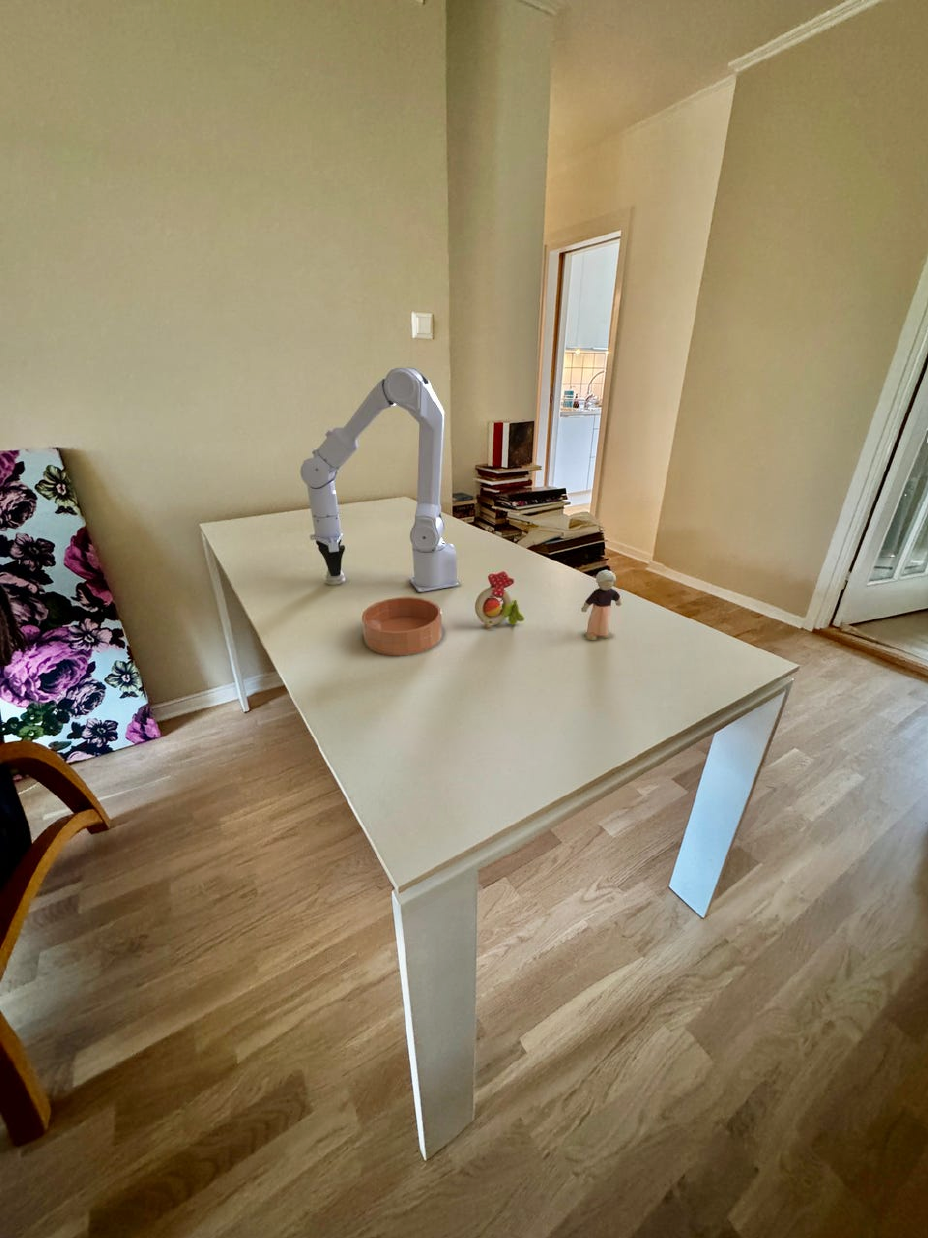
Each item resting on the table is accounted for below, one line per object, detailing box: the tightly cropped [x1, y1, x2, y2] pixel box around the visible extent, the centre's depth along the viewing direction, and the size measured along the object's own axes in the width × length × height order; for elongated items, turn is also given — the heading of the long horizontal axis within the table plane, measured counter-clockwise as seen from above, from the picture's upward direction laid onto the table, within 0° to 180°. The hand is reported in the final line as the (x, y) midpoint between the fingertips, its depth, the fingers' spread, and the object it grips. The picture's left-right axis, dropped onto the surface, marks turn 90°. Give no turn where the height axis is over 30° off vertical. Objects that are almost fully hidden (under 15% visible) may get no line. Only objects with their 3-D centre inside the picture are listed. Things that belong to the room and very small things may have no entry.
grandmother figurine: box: [580, 569, 622, 641], centre depth 85 cm, size 8×4×13 cm, turn 117°
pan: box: [361, 596, 443, 656], centre depth 88 cm, size 14×14×4 cm
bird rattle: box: [474, 570, 525, 629], centre depth 89 cm, size 6×11×9 cm
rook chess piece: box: [325, 569, 346, 586], centre depth 110 cm, size 4×4×8 cm
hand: (334, 572), depth 111 cm, fingers closed on rook chess piece, 3 cm apart
